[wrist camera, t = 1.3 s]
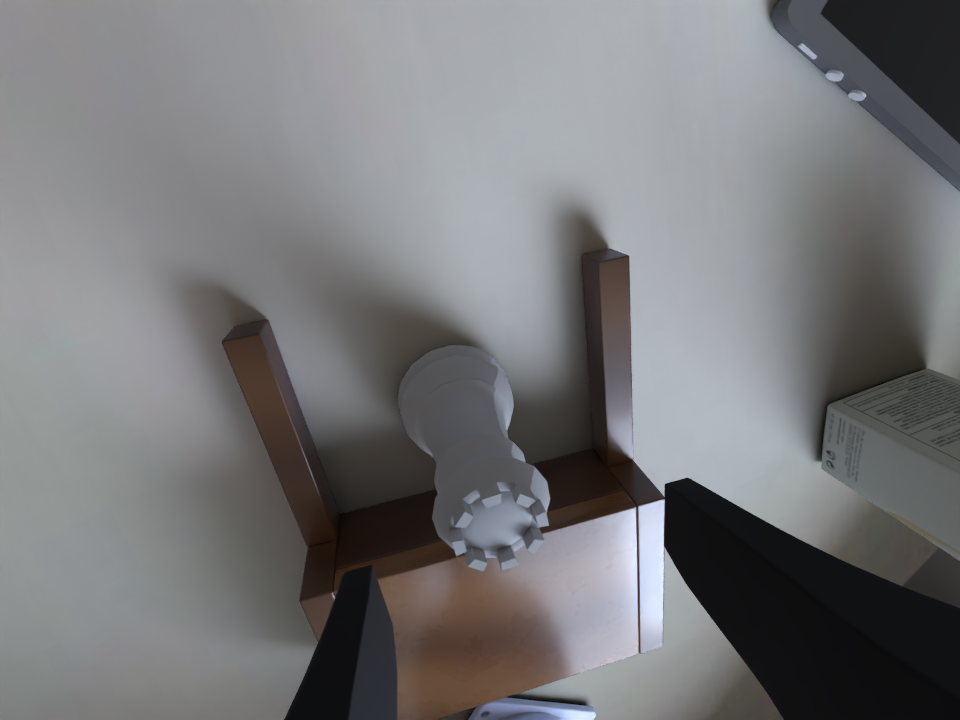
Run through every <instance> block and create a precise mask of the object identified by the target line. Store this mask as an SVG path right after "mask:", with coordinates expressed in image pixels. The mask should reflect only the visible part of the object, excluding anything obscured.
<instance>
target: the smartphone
mask: <svg viewBox="0 0 960 720" xmlns="http://www.w3.org/2000/svg"><path fill="white" fill-rule="evenodd" d="M772 20H773V24H774V26H775V28H776V30H777V31H778V33H779V34H780V35H781V36H783V37H784V38H785V39H786V40H787V41H788V42H789V43H791V44H792V45H793V46H794V47H795V48H796V49H797V50H799V51H800V52H801V53H802V54H803V55H804V56H805V57H807V58H808V59H809V60H810V61H811V62H812V63H814V64H815V65H816V66H817V67H818V68H819V69H820V70H822V71H823V72H824V73H825V74H826V75H825V76H826V78H827V79H829V80H831V81H834V82H835V83H836V84H838V85H839V86H840V87H841V88H842V89H843V90H844V91H846V92H847V93H848V97H849V98H850V99H852V100H855V101H857V102H858V103H859V104H860V105H862V106H863V107H864V108H865V109H866V110H867V111H868V112H870V113H871V114H872V115H873V116H874V117H875V118H877V119H878V120H879V121H880V122H881V123H882V124H883V125H885V126H886V127H887V128H888V129H889V130H890V131H891V132H893V133H894V134H895V135H896V136H897V137H898V138H899V139H901V140H902V141H903V142H904V143H905V144H906V145H907V146H909V147H910V148H911V149H912V150H913V151H914V152H915V153H917V154H918V155H919V156H920V157H921V158H922V159H923V160H925V161H926V162H927V163H928V164H929V165H930V166H931V167H933V168H934V169H935V170H936V171H937V172H938V173H940V174H941V175H942V176H943V177H944V178H945V179H946V180H948V181H949V182H950V183H951V184H952V185H953V186H954V187H956V188H957V189H958V190H959V191H960V0H779V2H778V4H777V5H776V7H775V9H774V11H773V14H772Z"/></svg>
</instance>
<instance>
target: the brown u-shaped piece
mask: <svg viewBox="0 0 960 720" xmlns="http://www.w3.org/2000/svg"><path fill="white" fill-rule="evenodd" d="M582 266H583V282H584V297H585V313H586V329H587V345H588V361H589V377H590V393H591V409H592V425H593V440H594V448H595V449H590V450H586V451H583V452H579V453H575V454H571V455H567V456H564V457H560V458H556V459H552V460H548V461H545V462H541V463H537V464H533V465H532V466H534V467H535V468H536V469H537V470H538V471H539V472H540V474H541V475H542V476H543V477H544V478H545V479H546V481H547V485H548V490H549V495H550V502H549V506H548V509H547V513H546V514H547V519H548V523H549V526H544V527H540V528H539V529H540V531H541V533H542V535H543V538H544V540H545V541H544V542H543V544H542V545H541V546H540V548H539V549H538V550H537V552H536V553H535V554H533V553H532V552H530V551H528V550H527V548H526V546H525V545H524V546H522V547H521V548H519V549H518V550H516V551H515V554H516V557H517V560H518V563H519V565H517V566H514V567H511V568H509V569H506V570H503V571H501V567H500V564H499V561H498V558H486V560H487V565H486V567H485V569H484V572H483V571H480V570H477V569H474V568H471V567H468V566H467V561H466V557H465V553H462V554H460V555H458V556H456V554H455V551H454V549H453V548H451V547H450V546H449V545H448V544H447V543H446V542H445V541H444V540H442V539H441V538H440V537H439V536H438V534H437V531H436V528H435V525H434V522H433V520H432V515H433V509H434V503H435V498H436V496H437V495H438V493H437V490H434V491H430V492H426V493H422V494H419V495H415V496H411V497H407V498H403V499H400V500H396V501H392V502H388V503H384V504H380V505H377V506H373V507H369V508H365V509H361V510H358V511H354V512H350V513H346V514H342V515H340V517H339V513H338V510H337V507H336V504H335V502H334V499H333V496H332V493H331V491H330V488H329V485H328V482H327V480H326V477H325V474H324V471H323V469H322V466H321V463H320V461H319V458H318V455H317V452H316V450H315V447H314V444H313V441H312V439H311V436H310V433H309V430H308V428H307V425H306V422H305V419H304V417H303V414H302V411H301V408H300V406H299V403H298V400H297V398H296V395H295V392H294V389H293V387H292V384H291V381H290V378H289V376H288V373H287V370H286V367H285V365H284V362H283V359H282V356H281V354H280V351H279V348H278V345H277V343H276V340H275V337H274V335H273V332H272V329H271V326H270V324H269V321H268V320H263V321H258V322H253V323H249V324H244V325H239V326H234V327H233V328H232V329H231V331H230V332H229V333H228V334H227V336H226V337H225V338H224V339H223V340H222V344H223V347H224V349H225V351H226V354H227V356H228V359H229V361H230V363H231V366H232V368H233V371H234V373H235V375H236V378H237V380H238V383H239V385H240V387H241V390H242V392H243V394H244V397H245V399H246V402H247V404H248V406H249V409H250V411H251V414H252V416H253V418H254V421H255V423H256V426H257V428H258V430H259V433H260V435H261V438H262V440H263V442H264V445H265V447H266V449H267V452H268V454H269V457H270V459H271V461H272V464H273V466H274V469H275V471H276V473H277V476H278V478H279V481H280V483H281V485H282V488H283V490H284V493H285V495H286V497H287V500H288V502H289V504H290V507H291V509H292V512H293V514H294V516H295V519H296V521H297V524H298V526H299V528H300V531H301V533H302V536H303V538H304V540H305V543H306V545H307V547H308V551H307V557H306V563H305V569H304V575H303V581H302V587H301V593H300V600H299V601H300V604H301V606H302V608H303V610H304V612H305V614H306V617H307V619H308V621H309V623H310V625H311V628H312V630H313V632H314V634H315V636H316V638H317V641H318V642H319V639H320V637H321V635H322V632H323V629H324V627H325V624H326V621H327V619H328V616H329V613H330V610H331V608H332V605H333V602H334V599H335V596H336V593H337V590H338V587H339V584H340V581H341V577H342V576H343V574H344V573H345V572H347V571H351V570H354V569H358V568H361V567H365V566H369V565H373V568H374V571H375V574H376V577H377V580H378V583H379V586H380V589H381V591H382V594H383V597H384V600H385V603H386V606H387V609H388V612H389V615H390V618H391V621H392V623H393V631H394V641H395V651H396V662H397V720H437V719H440V718H443V717H446V716H449V715H452V714H455V713H458V712H461V711H464V710H468V709H471V708H474V707H477V706H480V705H483V704H486V703H489V702H492V701H495V700H499V699H502V698H505V697H508V696H511V695H514V694H517V693H520V692H523V691H526V690H529V689H533V688H536V687H539V686H542V685H545V684H548V683H551V682H554V681H557V680H560V679H564V678H567V677H570V676H573V675H576V674H579V673H582V672H585V671H588V670H591V669H594V668H598V667H601V666H604V665H607V664H610V663H613V662H616V661H619V660H622V659H625V658H628V657H632V656H635V655H638V654H639V653H640V654H641V653H644V652H648V651H651V650H654V649H657V648H660V647H662V646H663V611H664V507H665V497H664V496H663V495H662V494H661V492H660V491H659V490H658V489H657V488H656V487H655V485H654V484H653V483H652V482H651V481H650V480H649V478H648V477H647V476H646V475H645V474H644V473H643V471H642V470H641V469H640V468H639V467H638V466H637V464H636V463H635V462H634V461H633V420H632V372H631V323H630V275H629V256H628V255H626V254H623V253H621V252H618V251H615V250H613V249H605V250H600V251H595V252H591V253H586V254H582Z"/></svg>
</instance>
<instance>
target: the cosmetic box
mask: <svg viewBox="0 0 960 720" xmlns="http://www.w3.org/2000/svg"><path fill="white" fill-rule="evenodd" d="M822 469H823V470H824V471H825V472H827V473H828V474H830V475H831V476H833V477H835V478H836V479H838V480H839V481H841V482H842V483H843V484H845V485H846V486H848V487H849V488H851V489H852V490H854V491H855V492H857V493H858V494H860V495H861V496H863V497H864V498H866V499H867V500H869V501H870V502H872V503H873V504H875V505H876V506H878V507H879V508H881V509H883V510H884V511H886V512H887V513H889V514H890V515H892V516H893V517H895V518H896V519H898V520H899V521H901V522H902V523H904V524H905V525H907V526H908V527H910V528H911V529H913V530H914V531H916V532H917V533H919V534H920V535H922V536H923V537H925V538H926V539H928V540H929V541H931V542H932V543H934V544H935V545H937V546H938V547H940V548H941V549H943V550H945V551H946V552H947V553H949V554H950V555H952V556H953V557H955V558H957V559H958V560H959V561H960V380H958V379H955V378H952V377H950V376H947V375H944V374H942V373H939V372H936V371H933V370H931V369H924V370H921V371H918V372H915V373H912V374H909V375H906V376H903V377H900V378H897V379H895V380H892V381H889V382H887V383H884V384H881V385H878V386H876V387H873V388H870V389H867V390H865V391H862V392H859V393H857V394H854V395H851V396H849V397H846V398H844V399H841V400H839V401H836V402H834V403H831V404H829V405H828V407H827V415H826V423H825V431H824V440H823V451H822Z"/></svg>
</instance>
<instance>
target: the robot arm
mask: <svg viewBox="0 0 960 720" xmlns="http://www.w3.org/2000/svg"><path fill="white" fill-rule="evenodd" d="M664 547H665V548H666V550H667V552H668V554H669V555H670V557H671V559H672V561H673V562H674V564H675V566H676V568H677V569H678V571H679V573H680V574H681V576H682V578H683V579H684V581H685V583H686V584H687V586H688V587H689V588H690V590H691V591H692V592H693V594H694V595H695V597H696V598H697V599H698V601H699V602H700V603H701V605H702V606H703V607H704V609H705V610H706V611H707V613H708V614H709V615H710V617H711V618H712V619H713V621H714V622H715V623H716V625H717V626H718V627H719V629H720V630H721V631H722V633H723V634H724V635H725V637H726V638H727V639H728V641H729V642H730V643H731V644H732V646H733V647H734V648H735V650H736V651H737V652H738V654H739V655H740V656H741V658H742V659H743V660H744V662H745V663H746V664H747V666H748V667H749V668H750V670H751V671H752V672H753V674H754V675H755V676H756V678H757V679H758V681H759V682H760V684H761V685H762V686H763V688H764V689H765V691H766V692H767V694H768V695H769V697H770V698H771V700H772V701H773V703H774V704H775V706H776V708H777V709H778V711H779V712H780V714H781V716H782V717H783V718H784V720H960V608H958V607H955V606H952V605H950V604H947V603H944V602H942V601H939V600H936V599H934V598H931V597H928V596H925V595H923V594H920V593H917V592H915V591H913V590H910V589H907V588H905V587H902V586H900V585H897V584H895V583H893V582H890V581H888V580H886V579H883V578H881V577H879V576H876V575H874V574H872V573H869V572H867V571H865V570H862V569H860V568H858V567H855V566H853V565H851V564H849V563H847V562H844V561H842V560H840V559H838V558H836V557H834V556H832V555H830V554H828V553H826V552H824V551H822V550H819V549H817V548H815V547H813V546H811V545H809V544H807V543H805V542H803V541H801V540H799V539H797V538H796V537H794V536H792V535H790V534H788V533H786V532H784V531H782V530H780V529H778V528H776V527H775V526H773V525H771V524H769V523H767V522H765V521H764V520H762V519H760V518H758V517H756V516H755V515H753V514H751V513H749V512H747V511H746V510H744V509H742V508H740V507H739V506H737V505H735V504H733V503H732V502H730V501H728V500H726V499H725V498H723V497H721V496H719V495H718V494H716V493H714V492H712V491H711V490H709V489H707V488H705V487H704V486H702V485H700V484H698V483H697V482H695V481H693V480H691V479H689V478H685V479H681V480H678V481H674V482H670V483H667V484H665V507H664ZM595 716H596V713H595V711H594V708H593V707H591V706H584V705H575V704H565V703H555V702H545V701H535V700H525V699H516V698H506V697H505V698H502V699H499V700H495V701H492V702H489V703H486V704H483V705H480V706H477V707H476V708H475V710H474V711H473V713H472V714H471V716H470V718H469V719H468V720H593V719H594V718H595ZM284 720H397V662H396V651H395V641H394V631H393V623H392V621H391V618H390V615H389V612H388V609H387V606H386V603H385V600H384V597H383V594H382V591H381V589H380V586H379V583H378V580H377V577H376V574H375V571H374V568H373V565H369V566H365V567H361V568H358V569H354V570H351V571H347V572H345V573H344V574H343V576H342V577H341V581H340V584H339V587H338V590H337V593H336V596H335V599H334V602H333V605H332V608H331V610H330V613H329V616H328V619H327V621H326V624H325V627H324V629H323V632H322V635H321V637H320V639H319V642H318V644H317V647H316V649H315V652H314V654H313V657H312V659H311V661H310V664H309V666H308V669H307V671H306V673H305V676H304V678H303V680H302V682H301V685H300V687H299V689H298V691H297V693H296V695H295V698H294V700H293V702H292V704H291V706H290V708H289V710H288V713H287V715H286V717H285V719H284Z"/></svg>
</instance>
